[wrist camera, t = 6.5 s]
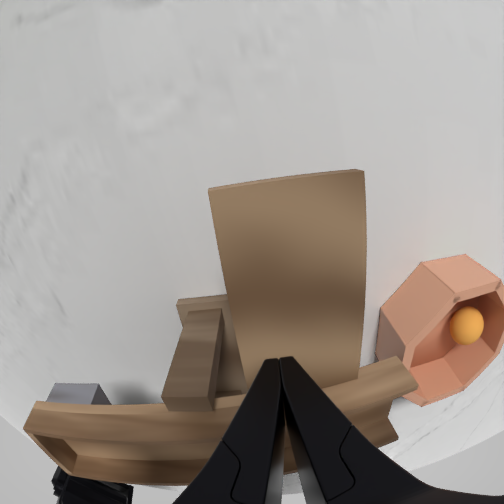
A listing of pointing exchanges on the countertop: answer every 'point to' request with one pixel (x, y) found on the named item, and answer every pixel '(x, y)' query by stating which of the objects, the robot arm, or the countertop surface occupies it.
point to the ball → (466, 325)
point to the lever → (249, 335)
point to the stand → (204, 357)
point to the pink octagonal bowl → (441, 326)
